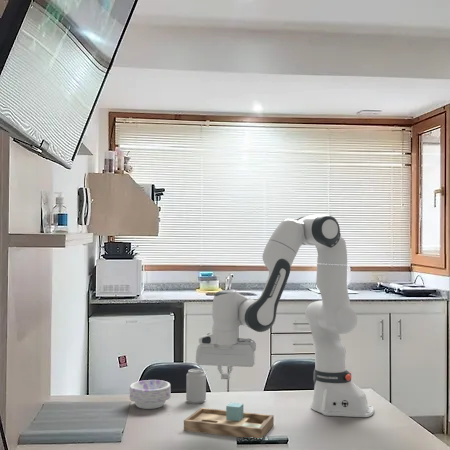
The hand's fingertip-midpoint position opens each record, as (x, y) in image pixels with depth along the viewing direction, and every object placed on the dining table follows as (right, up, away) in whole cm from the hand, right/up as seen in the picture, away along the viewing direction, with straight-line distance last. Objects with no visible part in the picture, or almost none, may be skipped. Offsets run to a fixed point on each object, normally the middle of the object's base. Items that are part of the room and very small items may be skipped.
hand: (225, 378), depth 189 cm
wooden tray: (+1, -14, -6) cm, 16 cm away
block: (+3, -13, -3) cm, 13 cm away
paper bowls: (-28, -16, +19) cm, 37 cm away
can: (-11, -16, +25) cm, 32 cm away
